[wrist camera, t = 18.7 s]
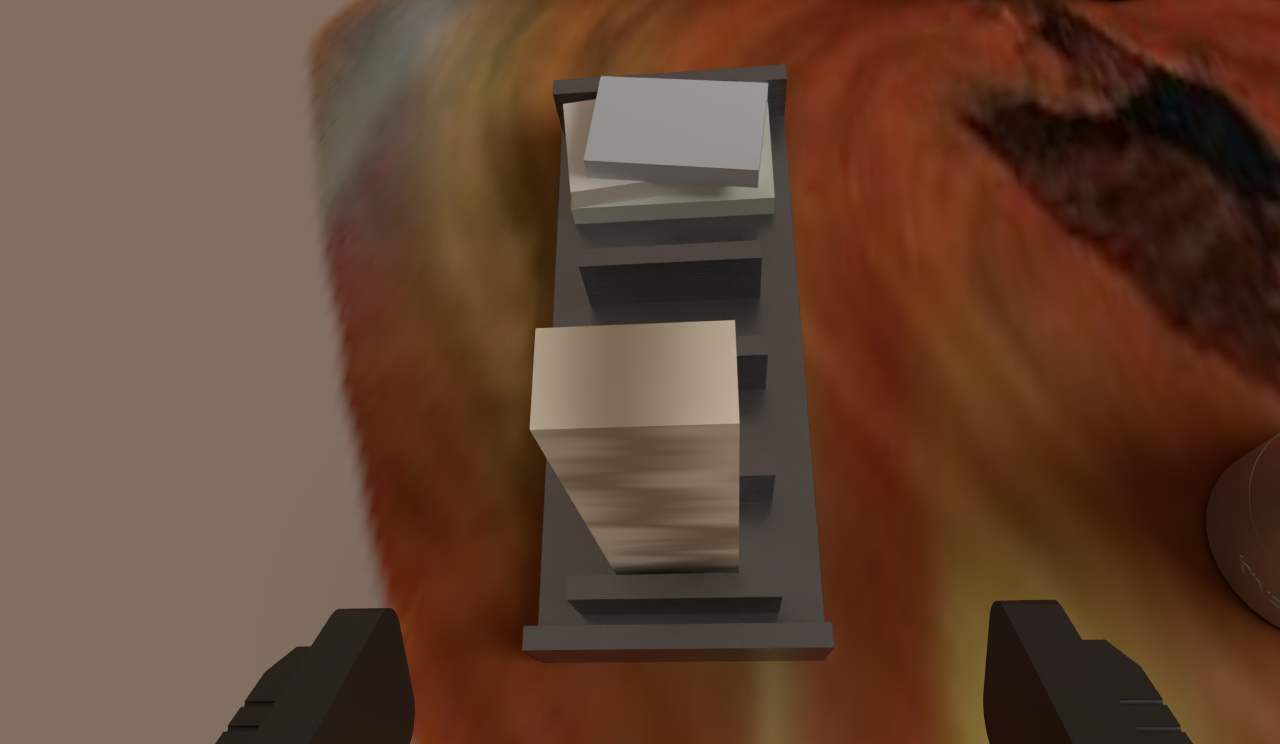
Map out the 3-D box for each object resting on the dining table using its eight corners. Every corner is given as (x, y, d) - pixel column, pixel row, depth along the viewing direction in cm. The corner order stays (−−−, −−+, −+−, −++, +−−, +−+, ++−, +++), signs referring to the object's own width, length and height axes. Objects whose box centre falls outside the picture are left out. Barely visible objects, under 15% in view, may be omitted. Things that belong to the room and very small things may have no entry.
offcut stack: (766, 112, 52) (769, 55, 48) (774, 219, 49) (777, 169, 45) (572, 124, 53) (558, 70, 49) (568, 230, 50) (553, 182, 46)
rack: (782, 118, 54) (786, 51, 49) (824, 660, 41) (836, 643, 36) (567, 132, 55) (550, 67, 50) (543, 662, 42) (516, 647, 37)
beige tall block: (736, 515, 43) (735, 320, 24) (738, 579, 41) (739, 423, 23) (620, 517, 43) (535, 328, 25) (620, 580, 42) (529, 430, 24)
